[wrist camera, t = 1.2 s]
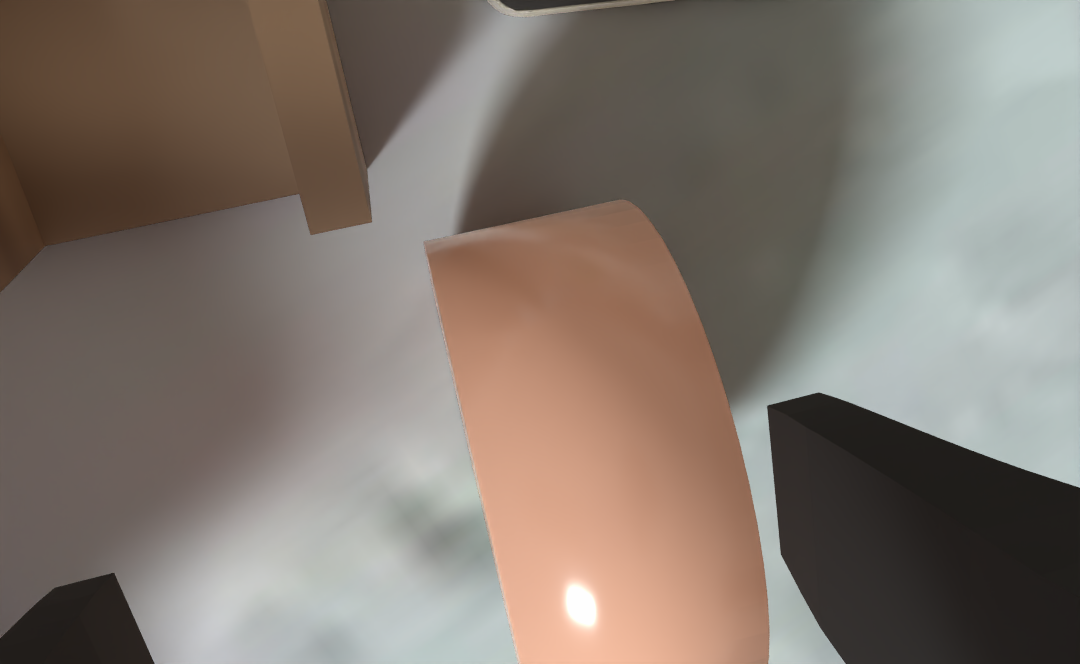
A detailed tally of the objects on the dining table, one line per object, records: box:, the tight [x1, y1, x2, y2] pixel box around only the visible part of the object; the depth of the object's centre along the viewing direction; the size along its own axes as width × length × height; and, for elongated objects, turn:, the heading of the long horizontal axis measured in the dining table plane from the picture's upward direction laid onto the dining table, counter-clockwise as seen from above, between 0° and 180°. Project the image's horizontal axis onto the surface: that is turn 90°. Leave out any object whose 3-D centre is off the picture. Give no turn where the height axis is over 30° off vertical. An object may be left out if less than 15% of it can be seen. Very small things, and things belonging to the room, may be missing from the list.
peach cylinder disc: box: [424, 199, 769, 664], centre depth 17 cm, size 9×4×9 cm, turn 9°
